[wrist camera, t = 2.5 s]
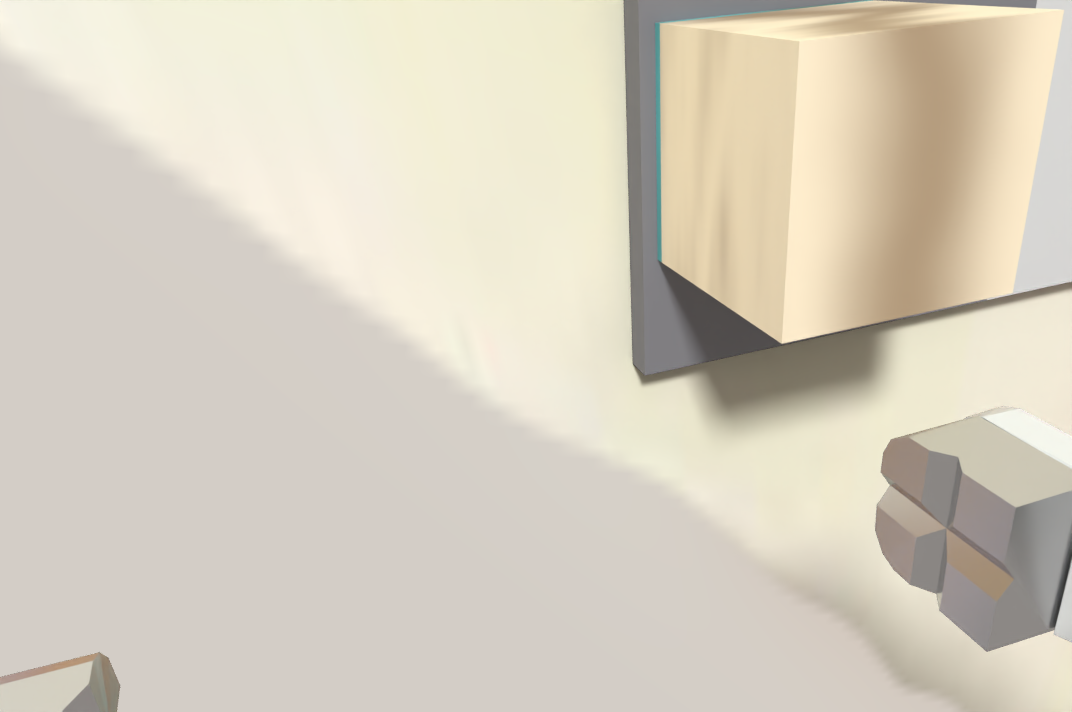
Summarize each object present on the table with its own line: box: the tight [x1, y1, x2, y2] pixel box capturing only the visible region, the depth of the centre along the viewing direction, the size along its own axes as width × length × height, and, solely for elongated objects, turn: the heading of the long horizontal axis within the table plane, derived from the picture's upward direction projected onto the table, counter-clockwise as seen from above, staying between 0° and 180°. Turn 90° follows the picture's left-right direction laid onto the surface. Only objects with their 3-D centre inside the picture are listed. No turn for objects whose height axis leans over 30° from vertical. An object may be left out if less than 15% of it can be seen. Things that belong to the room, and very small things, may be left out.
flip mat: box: [624, 0, 1072, 375], centre depth 29 cm, size 26×15×1 cm, turn 94°
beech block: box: [655, 0, 1064, 344], centre depth 23 cm, size 7×7×7 cm
